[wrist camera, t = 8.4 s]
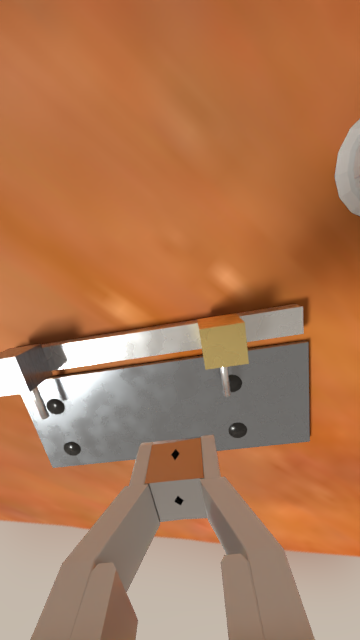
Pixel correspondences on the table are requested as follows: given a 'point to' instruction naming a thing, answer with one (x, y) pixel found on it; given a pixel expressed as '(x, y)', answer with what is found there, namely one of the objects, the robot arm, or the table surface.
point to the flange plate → (175, 406)
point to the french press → (349, 170)
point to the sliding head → (223, 344)
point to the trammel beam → (127, 348)
